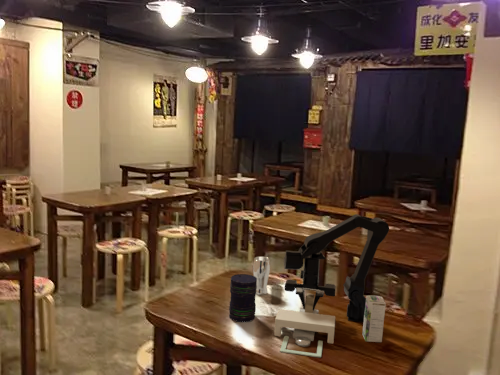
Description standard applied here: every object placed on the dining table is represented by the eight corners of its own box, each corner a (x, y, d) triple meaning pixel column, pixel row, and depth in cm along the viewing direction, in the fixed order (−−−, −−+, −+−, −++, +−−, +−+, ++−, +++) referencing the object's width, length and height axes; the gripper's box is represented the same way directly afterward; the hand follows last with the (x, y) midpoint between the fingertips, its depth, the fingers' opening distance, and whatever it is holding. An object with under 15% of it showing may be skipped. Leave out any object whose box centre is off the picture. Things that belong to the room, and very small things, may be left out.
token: (310, 341, 161) (311, 337, 161) (309, 348, 156) (310, 343, 156) (296, 339, 162) (296, 335, 162) (294, 346, 157) (294, 341, 157)
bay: (322, 342, 160) (322, 341, 160) (321, 357, 150) (321, 356, 150) (284, 337, 163) (284, 335, 163) (279, 351, 152) (280, 350, 152)
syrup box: (361, 334, 168) (365, 294, 166) (378, 335, 168) (382, 295, 166) (365, 341, 162) (368, 301, 160) (382, 342, 162) (386, 302, 160)
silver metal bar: (300, 311, 186) (301, 292, 185) (318, 313, 184) (319, 294, 183) (292, 338, 162) (294, 317, 161) (313, 341, 161) (314, 319, 160)
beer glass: (256, 296, 199) (257, 261, 197) (249, 290, 206) (251, 256, 203) (271, 294, 202) (273, 260, 200) (264, 289, 208) (265, 255, 206)
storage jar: (260, 319, 176) (262, 280, 174) (237, 324, 171) (239, 284, 169) (246, 309, 185) (248, 272, 183) (224, 314, 179) (225, 276, 177)
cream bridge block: (334, 332, 169) (335, 316, 168) (333, 343, 160) (334, 326, 159) (278, 324, 172) (278, 309, 172) (274, 335, 164) (275, 319, 163)
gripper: (337, 265, 184) (334, 304, 186) (289, 261, 188) (286, 299, 190) (336, 274, 173) (333, 315, 175) (285, 269, 177) (283, 309, 179)
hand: (308, 309), depth 180 cm, fingers closed on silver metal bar, 3 cm apart
